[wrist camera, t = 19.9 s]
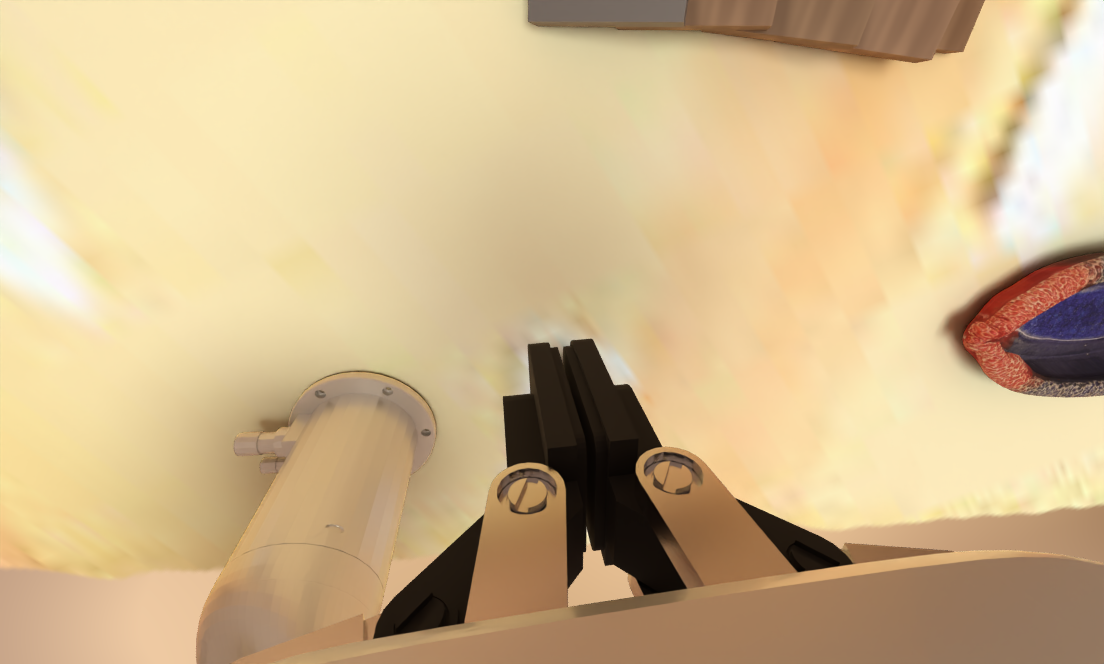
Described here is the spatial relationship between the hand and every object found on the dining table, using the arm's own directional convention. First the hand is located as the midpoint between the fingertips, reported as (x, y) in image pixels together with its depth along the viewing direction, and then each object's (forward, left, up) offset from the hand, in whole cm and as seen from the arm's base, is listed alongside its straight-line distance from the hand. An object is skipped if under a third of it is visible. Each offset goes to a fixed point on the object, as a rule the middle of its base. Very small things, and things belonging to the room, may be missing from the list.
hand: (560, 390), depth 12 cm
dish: (+56, -11, -25) cm, 62 cm away
